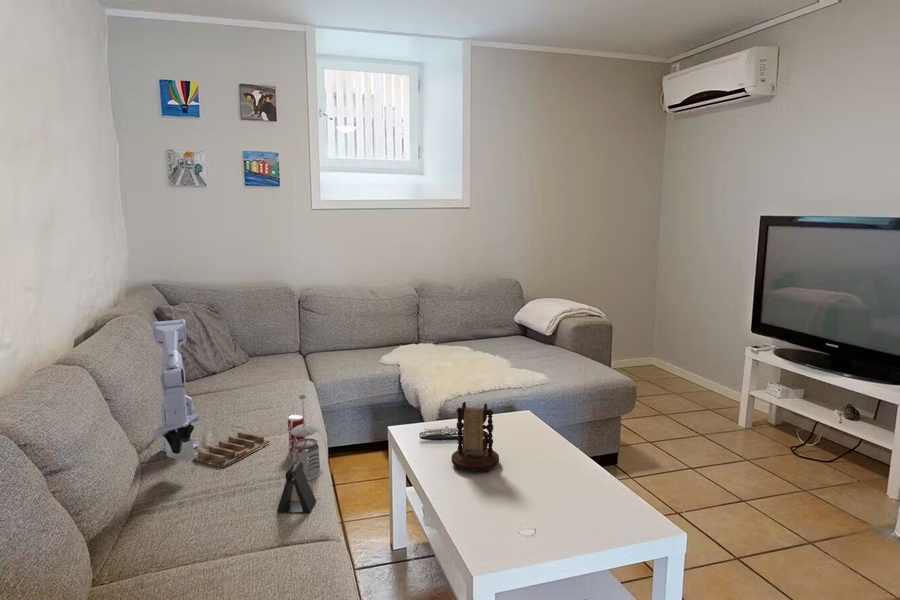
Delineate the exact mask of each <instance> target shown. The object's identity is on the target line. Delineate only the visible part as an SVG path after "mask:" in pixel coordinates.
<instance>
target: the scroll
mask: <svg viewBox="0 0 900 600" xmlns="http://www.w3.org/2000/svg"><path fill="white" fill-rule="evenodd" d="M456 413H457V414H456V415H457V422H456V428H457V430H458V431H457V438H456V440H457V445H458V446H457V450H455V451H454V452H453V453H452V454H451V463H452V465H454V466H455V469H456V470H459V469H462V470H466V471H486V473H489V472H490V469H492V468H495V467H496V466H497V465H498V464H499V463H500V455H499V453H497V452H496V450H495V451H494V450H493V449H494V448H493V444H494V439H493V433H492V432H493V431H494V424H493V422H494V421H493V417H494V416H493V415H494V411H493V409H488V404H487V403H486V402H485V403H484V405H483V407H471V406H467V403H466V401H463V402H462V404H461V407H458V408H457V409H456ZM487 418H488V419H487ZM486 422H487V424H486V425H485V423H486ZM462 430H463V431H462ZM484 430H487V431H485V433H484Z"/></svg>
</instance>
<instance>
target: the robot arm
mask: <svg viewBox="0 0 900 600" xmlns="http://www.w3.org/2000/svg"><path fill="white" fill-rule="evenodd" d="M186 324H187V323H186V320H185V319H184V318H182V319H176V320H165V321H164V320H163V321H154V322H153V323H152V335H153V341H154V343H155V345H156V347H159V348H160V347H161V348H162V349H163V350H164V352H163V354H162V355H161V357H160V359H161V360H160V361H161V372H160V374H159V375H160V385H161V390H162V395H163V398H164V399H163V400H162V401H161V404H160V406H161V408H160V414H161V424H162V425H160V426H159V427H158V428H156V429H154V430H153V433H154V437H155V438H161V446H162V448H160V451H161V452H166V444H165V438H166V440H167V441H168V443H169V445H170V447H171V450H172V452H173V453H175V454H178V453H179V438H180V437H183V438H188V439H192V440H193V434H192V432H193V431H194V429H195V426H194V425H193V424H192V423H194V422H200V421H201V420H200V414H198V413H195V412H194V403H193V399H192V397H191V396H189V395H187V394H186V389H185V388H186V382H187V381H186V374H185V369H184V366H183V357H182V354H181V353H180V348H181V346H182V345H185V344H186V342H187V340H188V339H187V336H188V335H187V325H186ZM193 445H194V449H196V448H197V447H199V444H198V443H194V442H193Z"/></svg>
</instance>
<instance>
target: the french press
mask: <svg viewBox="0 0 900 600" xmlns="http://www.w3.org/2000/svg"><path fill="white" fill-rule="evenodd" d="M298 398H299V399H300V400H301V401H302V404H304V399H306V398H307V396H306V394H305V393H301V394H300V395H299V397H298ZM302 413H303V414H302V416H303V419H304V420H305V411H304V406H302ZM318 431H319V427H318V426H316V425H313V424H311V423H310V424H309V423H304V424H302V425H299V426H297V427H295V428H294V429H292V430H291V434H292V435H294V436H298V437H303V436H305V439H301V440H297V441H296V442H295V440H294V439H293V440H294V443H293V446H294V447H293V454H292V459H291V455H290V446H289V445H288V446H289V447H288V454H287V455H288V459H289V461H290V462H291V463H292V464H293V463H294V462H295V461H296V463H295V465H294V468H295V466H296V465H297V464H298V462H299V461H300V462H302V463H303V471H304V474H305V476H306V478H307V481H311V480H315V479H317V478H320V477H322V475H323V474H324V469H323V468H322V467H321V464H320V448H319V447H320V446H319V445H318V440H317V439H315V438H309V437H308V436H312V435H314V434H316V433H317V432H318ZM307 437H308V438H307ZM293 440H292V441H293ZM292 441H291V443H292ZM291 443H290V445H291ZM294 450H305V452H294ZM306 450H307V451H306Z"/></svg>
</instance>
